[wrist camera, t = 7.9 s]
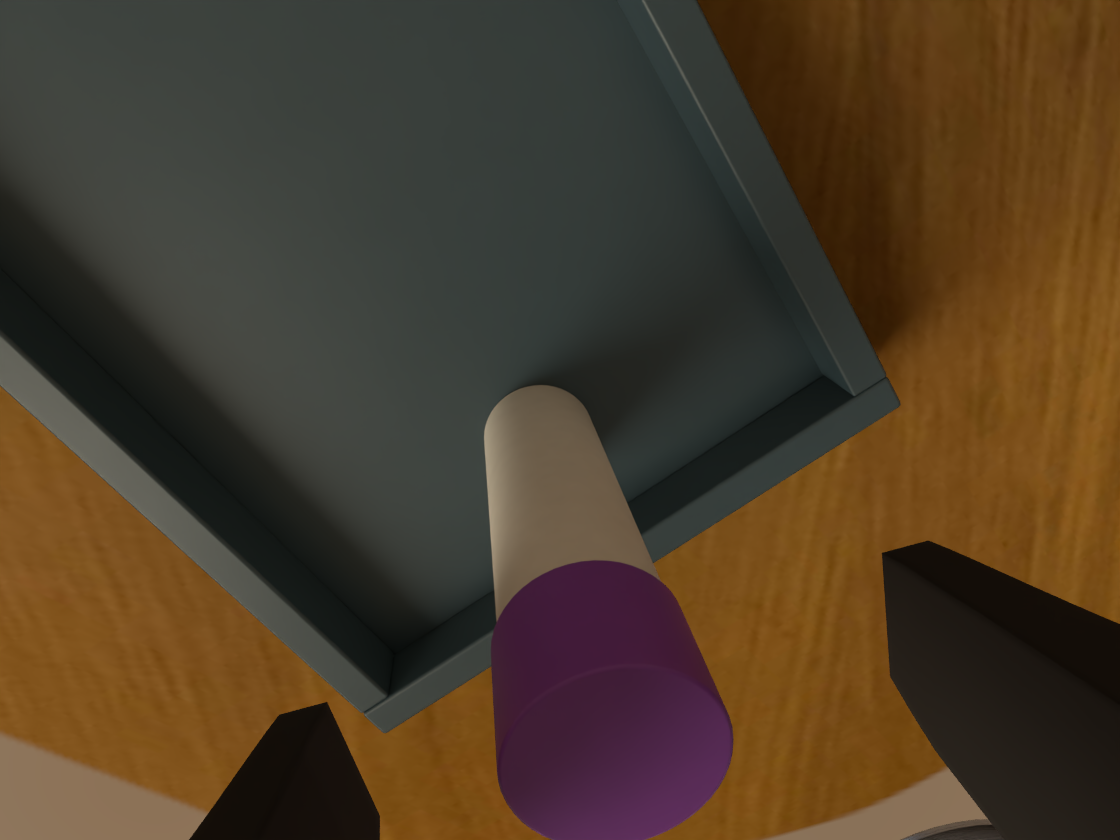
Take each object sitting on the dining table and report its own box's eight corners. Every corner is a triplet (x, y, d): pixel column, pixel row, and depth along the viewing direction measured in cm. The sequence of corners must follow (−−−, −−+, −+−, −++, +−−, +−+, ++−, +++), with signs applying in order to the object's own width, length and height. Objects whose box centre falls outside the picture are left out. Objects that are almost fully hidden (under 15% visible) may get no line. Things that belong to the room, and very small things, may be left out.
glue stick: (607, 471, 17) (748, 813, 8) (496, 501, 17) (530, 873, 8) (583, 366, 16) (716, 638, 7) (465, 397, 16) (468, 705, 7)
